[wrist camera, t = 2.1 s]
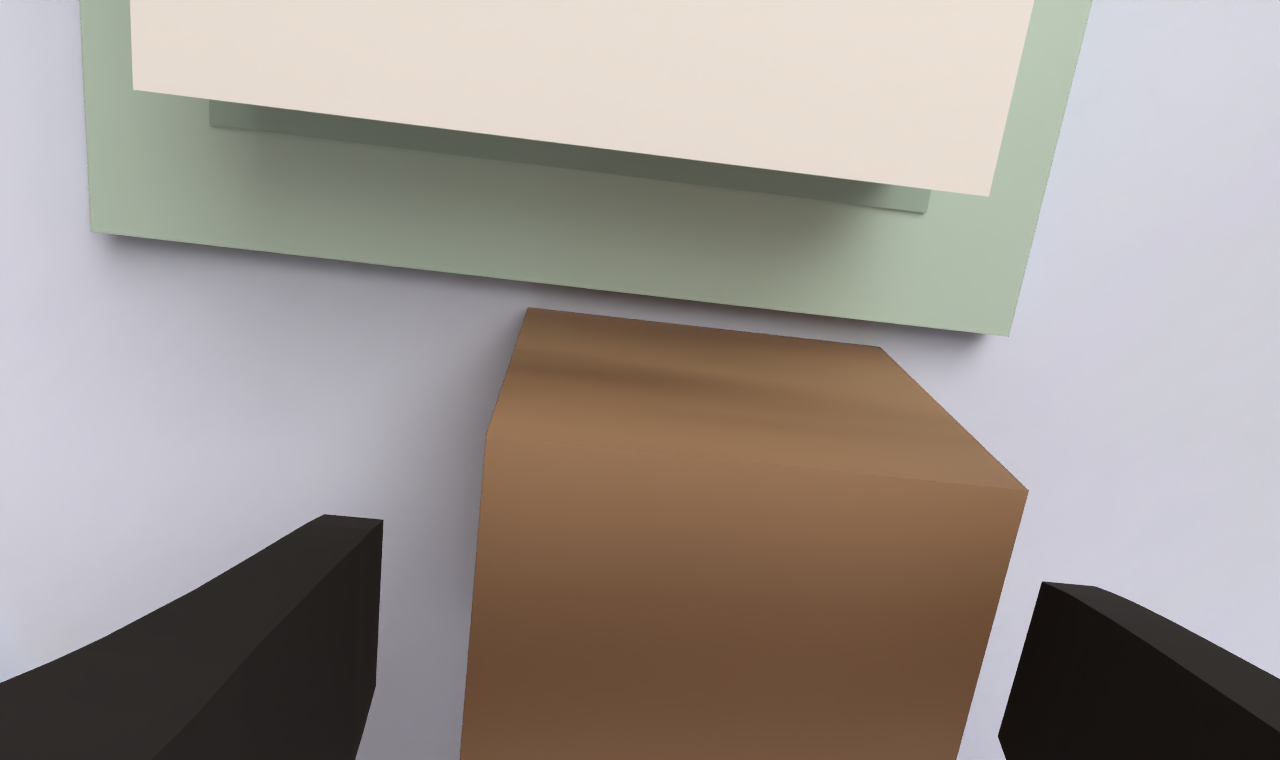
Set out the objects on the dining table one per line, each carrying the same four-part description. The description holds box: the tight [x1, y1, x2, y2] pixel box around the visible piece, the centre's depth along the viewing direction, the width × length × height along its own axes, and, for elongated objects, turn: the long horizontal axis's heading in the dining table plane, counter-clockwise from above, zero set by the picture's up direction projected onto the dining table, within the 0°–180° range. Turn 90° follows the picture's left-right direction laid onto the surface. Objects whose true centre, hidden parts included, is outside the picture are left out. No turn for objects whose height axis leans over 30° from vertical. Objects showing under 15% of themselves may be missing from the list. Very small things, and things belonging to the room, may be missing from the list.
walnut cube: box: [460, 307, 1029, 760], centre depth 12 cm, size 5×5×5 cm
